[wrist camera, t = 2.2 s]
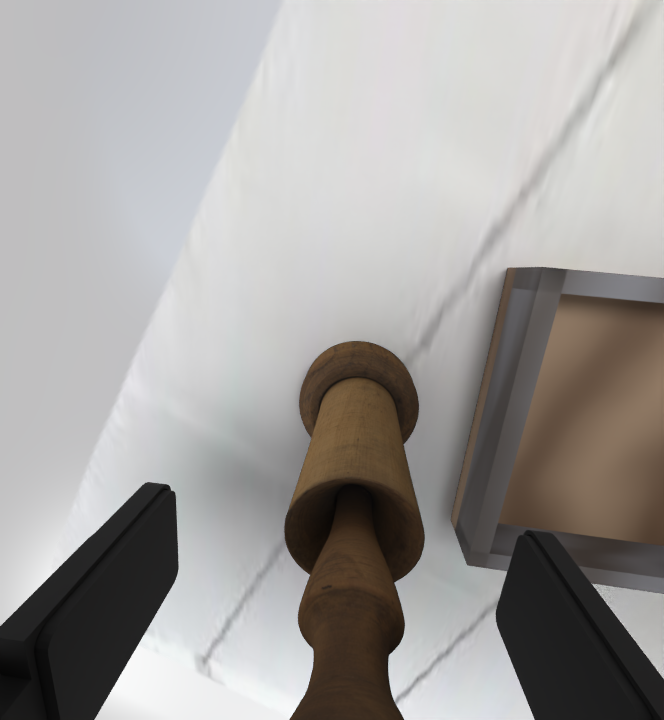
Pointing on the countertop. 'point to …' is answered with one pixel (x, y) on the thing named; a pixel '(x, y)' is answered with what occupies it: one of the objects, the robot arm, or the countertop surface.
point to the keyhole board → (571, 427)
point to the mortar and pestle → (354, 527)
